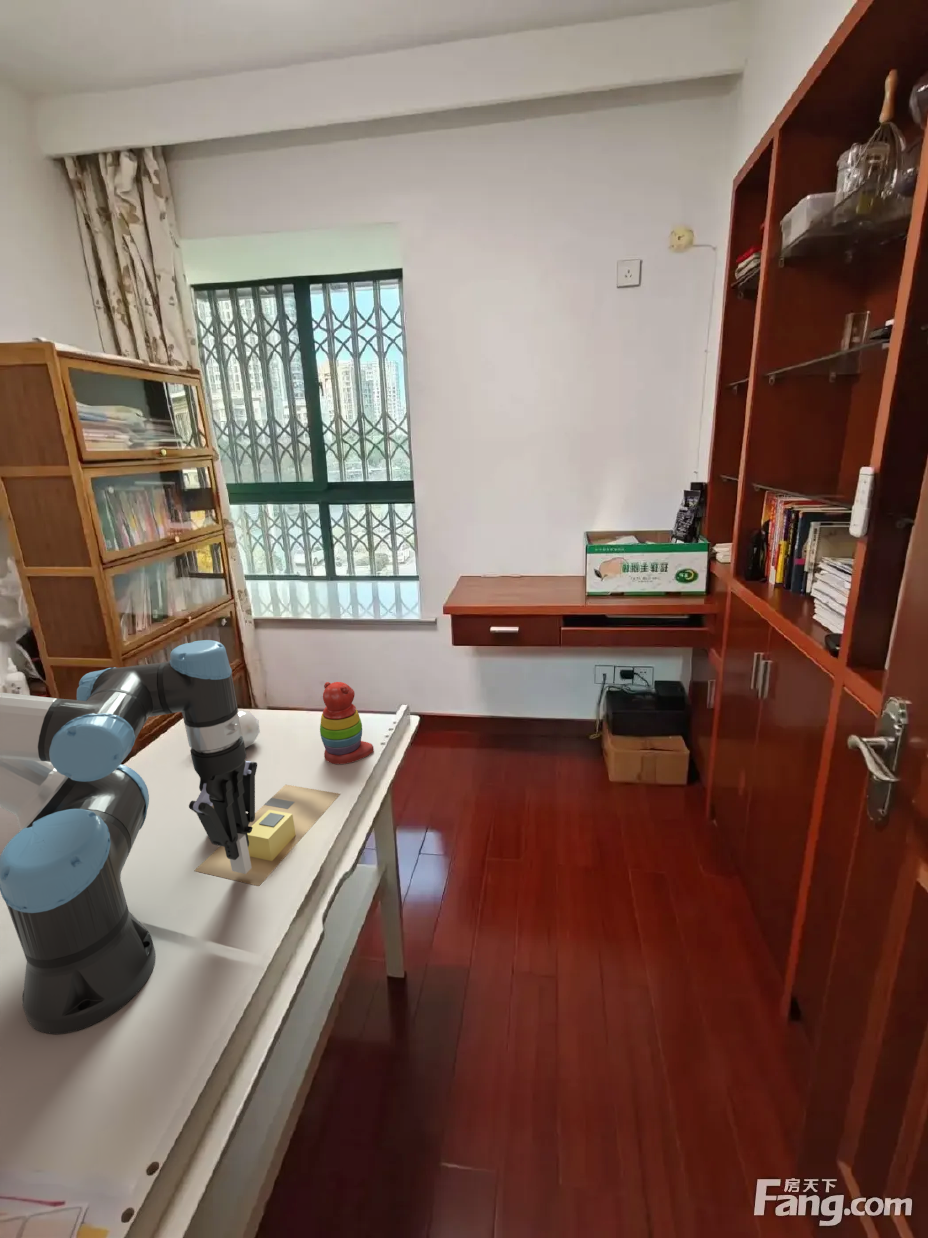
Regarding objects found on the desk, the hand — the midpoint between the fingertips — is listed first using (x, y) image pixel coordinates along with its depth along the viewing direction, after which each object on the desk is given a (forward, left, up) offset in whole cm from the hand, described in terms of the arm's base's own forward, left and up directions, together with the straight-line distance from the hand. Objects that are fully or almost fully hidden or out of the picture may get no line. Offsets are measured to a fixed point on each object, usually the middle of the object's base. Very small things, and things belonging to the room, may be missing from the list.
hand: (241, 869), depth 95 cm
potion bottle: (+37, +33, -3) cm, 50 cm away
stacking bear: (+41, +4, -3) cm, 41 cm away
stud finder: (+8, 0, -1) cm, 8 cm away
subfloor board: (+12, +3, -3) cm, 12 cm away
